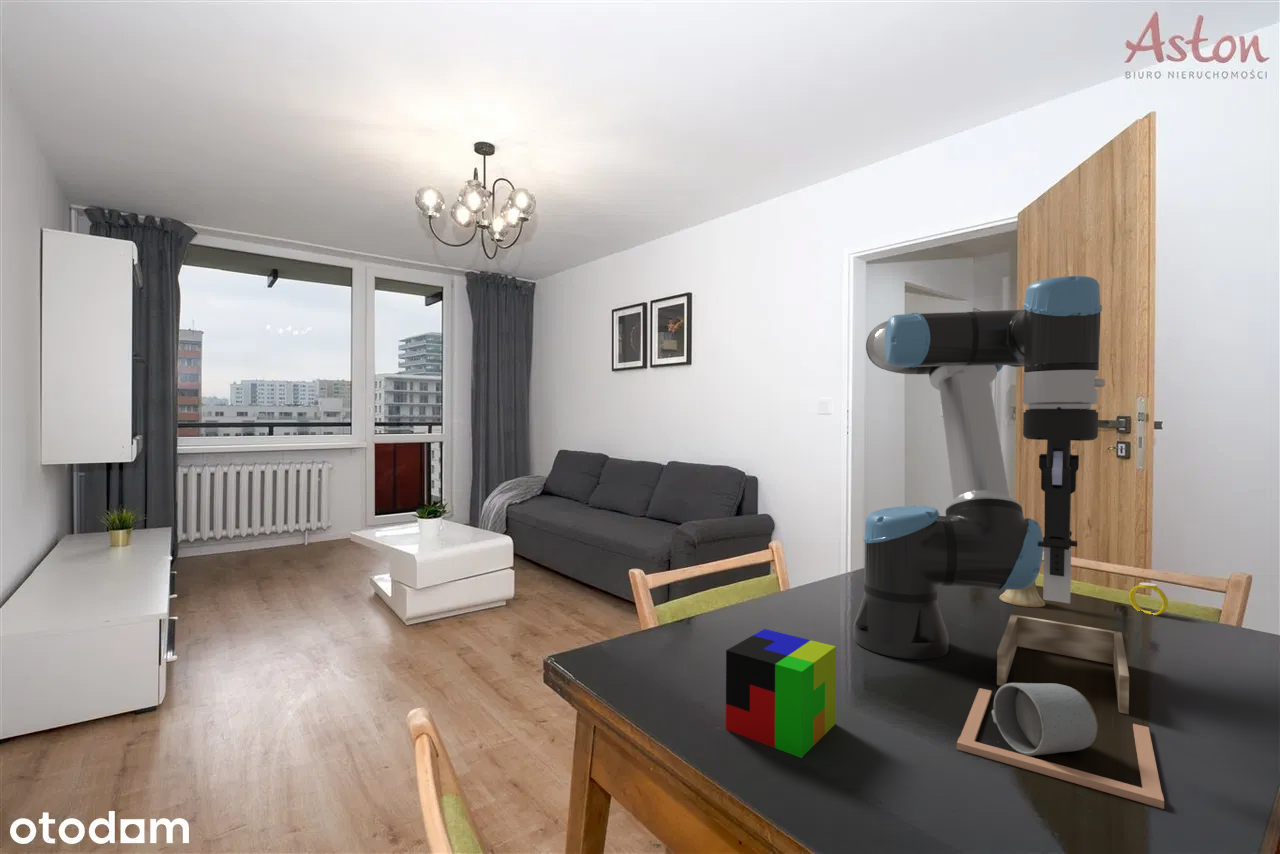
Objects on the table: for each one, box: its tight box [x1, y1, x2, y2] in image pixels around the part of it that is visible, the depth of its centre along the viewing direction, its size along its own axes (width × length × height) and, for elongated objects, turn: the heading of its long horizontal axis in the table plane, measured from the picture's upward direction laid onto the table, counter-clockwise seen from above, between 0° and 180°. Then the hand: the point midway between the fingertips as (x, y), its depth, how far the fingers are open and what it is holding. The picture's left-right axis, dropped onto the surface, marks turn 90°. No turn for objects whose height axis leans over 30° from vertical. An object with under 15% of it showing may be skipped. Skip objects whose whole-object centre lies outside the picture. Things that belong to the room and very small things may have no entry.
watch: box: [1128, 582, 1169, 616], centre depth 122 cm, size 6×3×6 cm, turn 26°
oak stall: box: [996, 614, 1130, 715], centre depth 93 cm, size 15×20×5 cm
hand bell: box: [998, 581, 1046, 608], centre depth 129 cm, size 8×8×16 cm
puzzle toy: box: [725, 628, 837, 759], centre depth 77 cm, size 10×10×10 cm
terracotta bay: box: [956, 687, 1165, 810], centre depth 74 cm, size 18×19×1 cm
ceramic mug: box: [991, 682, 1099, 757], centre depth 74 cm, size 11×8×8 cm
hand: (1056, 599), depth 75 cm, fingers closed
